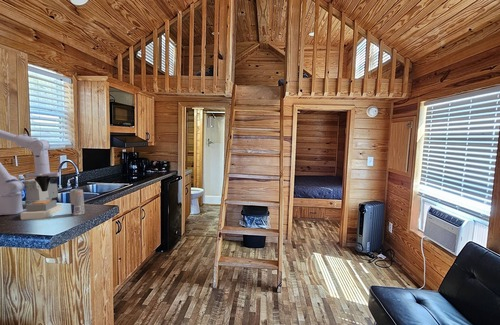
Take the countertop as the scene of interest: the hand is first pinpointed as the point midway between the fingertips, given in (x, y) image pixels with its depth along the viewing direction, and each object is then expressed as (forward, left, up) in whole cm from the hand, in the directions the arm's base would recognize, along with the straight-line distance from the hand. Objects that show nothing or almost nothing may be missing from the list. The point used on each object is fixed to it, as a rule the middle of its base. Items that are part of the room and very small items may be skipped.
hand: (44, 191), depth 132 cm
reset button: (+2, -6, -7) cm, 9 cm away
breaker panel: (+2, -6, -10) cm, 12 cm away
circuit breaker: (-8, +12, -11) cm, 18 cm away
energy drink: (+19, -8, -11) cm, 23 cm away
